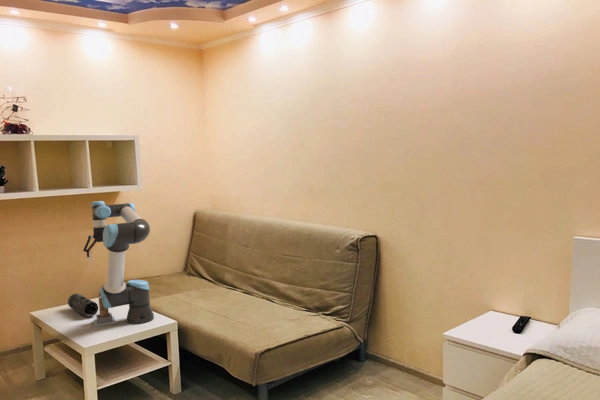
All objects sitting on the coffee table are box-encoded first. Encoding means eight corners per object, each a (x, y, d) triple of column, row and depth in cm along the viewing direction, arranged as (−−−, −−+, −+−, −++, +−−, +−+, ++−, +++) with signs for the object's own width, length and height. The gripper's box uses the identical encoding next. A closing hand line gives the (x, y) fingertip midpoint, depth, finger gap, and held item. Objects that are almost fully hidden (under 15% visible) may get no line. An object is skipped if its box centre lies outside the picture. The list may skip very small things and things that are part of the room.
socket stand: (113, 318, 293) (113, 311, 293) (115, 323, 283) (115, 316, 283) (93, 321, 288) (93, 314, 288) (95, 326, 278) (94, 319, 278)
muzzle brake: (83, 320, 291) (82, 303, 290) (67, 310, 311) (66, 294, 311) (99, 316, 298) (98, 299, 297) (82, 307, 318) (81, 291, 317)
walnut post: (108, 318, 289) (106, 295, 287) (109, 320, 285) (107, 297, 283) (100, 320, 287) (98, 296, 285) (100, 322, 283) (99, 298, 281)
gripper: (120, 224, 308) (123, 257, 310) (77, 228, 298) (79, 262, 299) (122, 225, 302) (124, 259, 303) (77, 229, 291) (80, 264, 292)
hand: (102, 261), depth 301 cm, fingers open, 13 cm apart
